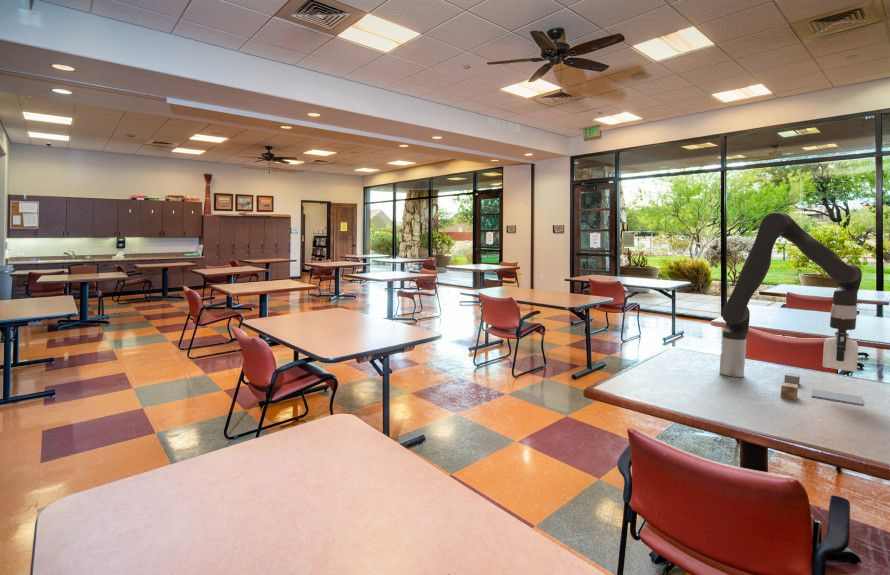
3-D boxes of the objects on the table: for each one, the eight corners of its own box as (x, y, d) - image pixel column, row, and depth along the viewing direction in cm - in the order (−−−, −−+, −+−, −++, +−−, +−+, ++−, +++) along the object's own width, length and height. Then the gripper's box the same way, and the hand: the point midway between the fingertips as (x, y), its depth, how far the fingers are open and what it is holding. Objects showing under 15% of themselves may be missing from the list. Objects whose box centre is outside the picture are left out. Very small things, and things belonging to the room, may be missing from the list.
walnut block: (780, 397, 181) (781, 385, 180) (781, 394, 184) (782, 382, 184) (796, 400, 177) (797, 388, 177) (797, 396, 181) (798, 384, 181)
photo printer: (820, 367, 181) (823, 336, 180) (823, 365, 184) (826, 334, 182) (855, 372, 173) (858, 340, 172) (857, 370, 176) (860, 339, 174)
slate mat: (811, 396, 181) (811, 395, 181) (812, 390, 188) (812, 388, 188) (863, 405, 171) (863, 404, 171) (861, 398, 179) (861, 396, 179)
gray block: (784, 383, 197) (784, 374, 197) (784, 381, 200) (785, 372, 200) (798, 386, 194) (799, 377, 193) (799, 383, 197) (800, 374, 196)
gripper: (830, 312, 184) (826, 354, 186) (830, 318, 173) (827, 361, 175) (855, 314, 179) (851, 357, 181) (857, 320, 168) (853, 365, 170)
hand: (839, 359), depth 178 cm, fingers closed on photo printer, 4 cm apart
